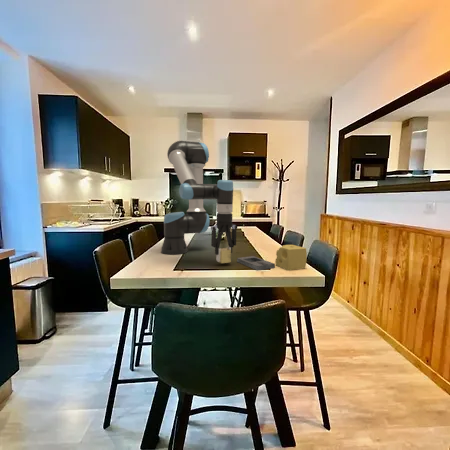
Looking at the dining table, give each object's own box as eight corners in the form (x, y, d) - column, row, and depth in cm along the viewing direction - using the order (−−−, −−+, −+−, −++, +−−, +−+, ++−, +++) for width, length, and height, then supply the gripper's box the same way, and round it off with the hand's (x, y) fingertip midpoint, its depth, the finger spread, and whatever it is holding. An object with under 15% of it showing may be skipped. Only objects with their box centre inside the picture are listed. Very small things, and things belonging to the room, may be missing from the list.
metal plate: (236, 261, 142) (237, 257, 142) (253, 259, 146) (253, 255, 146) (257, 270, 126) (257, 265, 126) (274, 267, 131) (274, 263, 130)
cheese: (275, 265, 135) (275, 245, 134) (293, 263, 140) (294, 244, 138) (287, 271, 126) (288, 249, 125) (307, 268, 130) (307, 247, 129)
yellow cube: (216, 260, 136) (217, 248, 135) (225, 259, 138) (226, 248, 138) (221, 263, 132) (221, 250, 131) (230, 262, 134) (231, 249, 133)
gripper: (210, 214, 125) (210, 264, 128) (244, 213, 133) (243, 260, 136) (204, 212, 131) (203, 260, 134) (236, 211, 140) (235, 256, 143)
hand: (223, 260), depth 135 cm, fingers closed on yellow cube, 5 cm apart
